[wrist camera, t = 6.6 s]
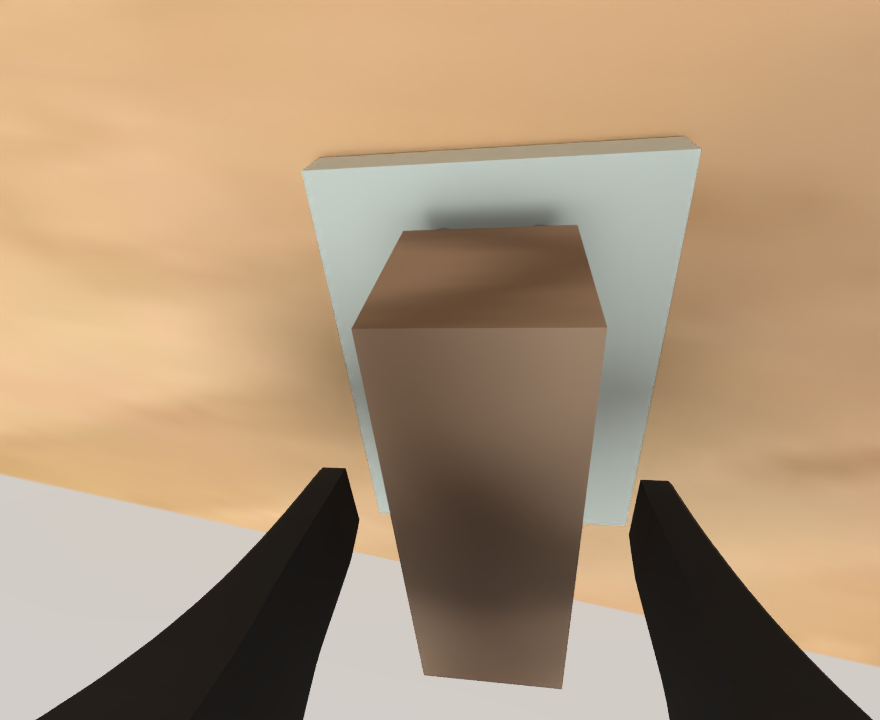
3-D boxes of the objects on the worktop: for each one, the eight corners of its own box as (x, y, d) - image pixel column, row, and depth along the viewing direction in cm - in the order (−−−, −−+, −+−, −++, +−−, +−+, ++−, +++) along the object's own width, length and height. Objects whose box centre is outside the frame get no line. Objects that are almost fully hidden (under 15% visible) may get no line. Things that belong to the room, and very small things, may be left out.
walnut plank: (577, 224, 11) (607, 328, 7) (552, 550, 18) (561, 689, 14) (403, 230, 12) (351, 328, 8) (442, 543, 18) (424, 675, 15)
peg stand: (684, 136, 13) (731, 170, 10) (619, 495, 21) (635, 572, 18) (319, 157, 14) (271, 192, 12) (387, 485, 22) (368, 554, 19)
